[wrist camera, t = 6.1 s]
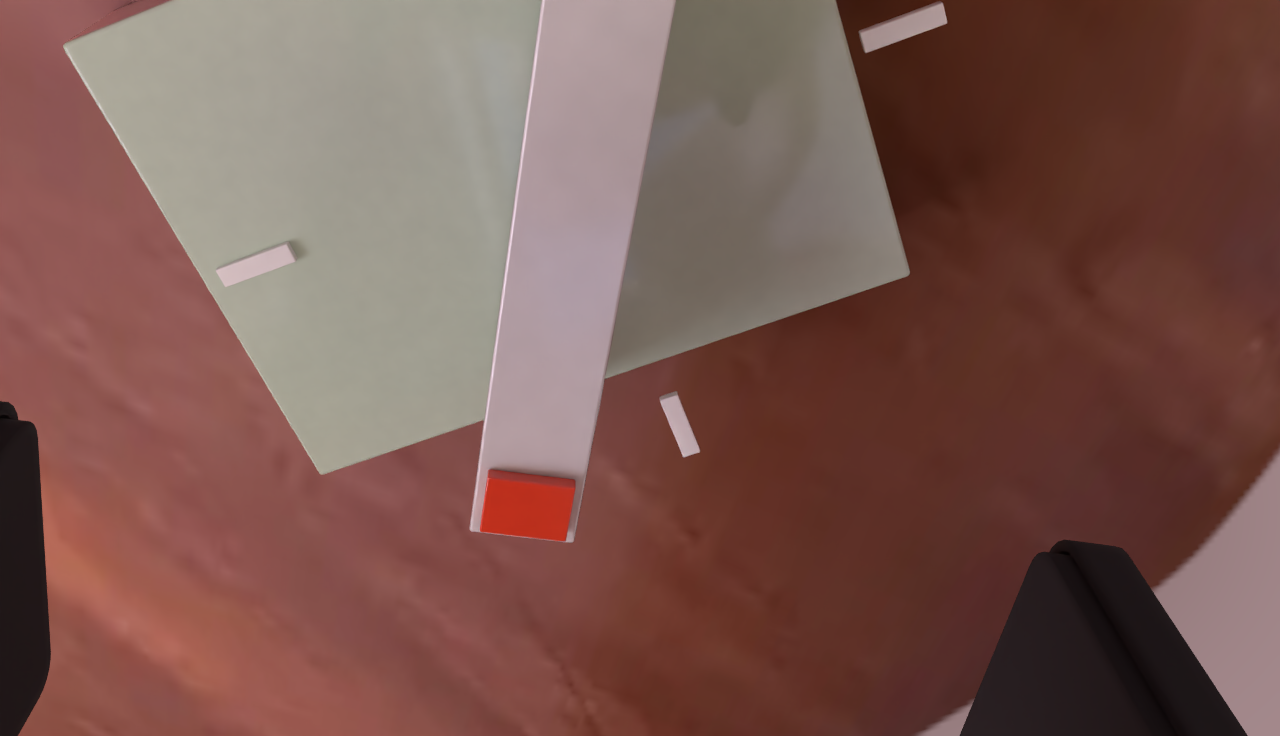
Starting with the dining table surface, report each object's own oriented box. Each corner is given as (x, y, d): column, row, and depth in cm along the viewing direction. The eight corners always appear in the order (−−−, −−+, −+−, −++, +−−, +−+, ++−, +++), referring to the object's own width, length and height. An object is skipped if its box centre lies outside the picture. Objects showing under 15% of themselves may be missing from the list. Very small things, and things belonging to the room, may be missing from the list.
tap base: (806, -429, 19) (839, -448, 16) (981, 286, 25) (1021, 346, 23) (44, -107, 20) (-25, -83, 18) (384, 487, 27) (366, 561, 24)
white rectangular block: (559, -140, 18) (553, -88, 14) (662, -121, 18) (691, -63, 14) (489, 371, 22) (467, 541, 18) (574, 382, 23) (573, 553, 18)
